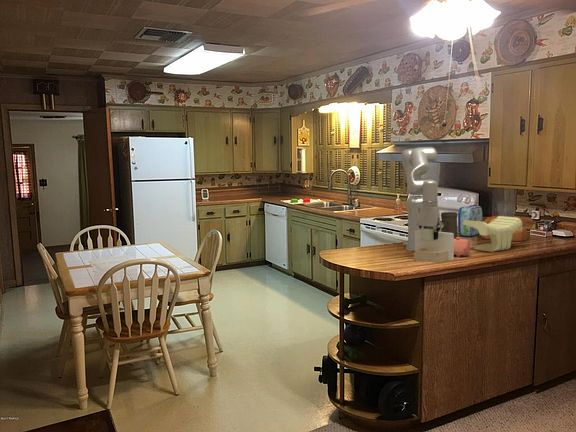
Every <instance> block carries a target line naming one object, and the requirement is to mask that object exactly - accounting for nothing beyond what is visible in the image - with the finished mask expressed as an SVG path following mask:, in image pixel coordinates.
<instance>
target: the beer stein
mask: <svg viewBox="0 0 576 432" xmlns="http://www.w3.org/2000/svg"><path fill="white" fill-rule="evenodd" d="M440 220H441V222H442V223H443V224H444V226H443V227H442V228H441V229H440V232H445V233H454V239H456V237H458V212H454V211H445V212H443V211H442V212H440Z"/></svg>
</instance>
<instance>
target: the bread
mask: <svg viewBox="0 0 576 432" xmlns="http://www.w3.org/2000/svg"><path fill="white" fill-rule="evenodd" d="M498 216H499V215H493V216H488V217H487V218H485V220H484V221H483V222H484V223H487V224H489V223H490V222H492V221H493V220H495V219H497V217H498ZM503 216H504V217H509V216H507V215H503ZM515 217H516V218H519V219H520V220H521V221H522V231H515V232H514V233H512V239H511V242H524V241H526V240H527V239H528V231H527V224H526V221H525V220H524V219H523V218H522V217H517V216H515ZM480 236H481V238H482V239H484V240H491V238H490V236H489V235H487V236H484V235H480Z"/></svg>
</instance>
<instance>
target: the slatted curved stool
mask: <svg viewBox="0 0 576 432" xmlns="http://www.w3.org/2000/svg"><path fill="white" fill-rule="evenodd" d="M497 216H498V217H497V219H495V220H493V221H492V222H490V223H489V224H487V223H484V221H482V222H480V221H470V220H463V225H467V226H470V227H473V228H475V229H478V231H479V234H478V235H479V236H482V235H484V236H487V235H489V236H490V238H491V239H490V241H491V243H484V244H475V245H474V246H473V250H479V251H484V252H489V253H492V252H500V251H507V250H510V248H511V245H512V241H511V239H512V233H514V232H515V231H522V221H521V220H520V219H519V218H520V217H517V216H508V217H504V216H505V215H497ZM516 217H517V218H516Z"/></svg>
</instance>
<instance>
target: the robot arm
mask: <svg viewBox="0 0 576 432" xmlns="http://www.w3.org/2000/svg"><path fill="white" fill-rule="evenodd" d="M437 159H438V152H437V149H436V148H435V147H433V146H426V147H425V146H424V147H421V146H420V147H415V148H408V149H404V150H403V151H402V153H401V162H402V167H403V169H404V170H405V175H406V176H405V177H406V186H407V192H408V194H409V195H413V196H409V197H408V198H407V200H406V203H405V205H406V211H407V235H408V236H407V238H408V239H407V241H403V243H402V244H403V246H405V250H406V251H411V252H414V250H415V230H421V229H423V228H427V226H428V227H433V228H434V231H435V232H434V240H436V239H438V232H440V231H441V228H442V227H443V226H444V224H443V223H442V220H441V212H440V207H439V206H438V197H439V193H438V191H439V189H438V187H439V186H438V185H439V184H438V181H437V180H434V179H432V178H422V176H423V175H426V174H427V173H429V171H430V168H431V167H430V163H434V162H436V161H437Z"/></svg>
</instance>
